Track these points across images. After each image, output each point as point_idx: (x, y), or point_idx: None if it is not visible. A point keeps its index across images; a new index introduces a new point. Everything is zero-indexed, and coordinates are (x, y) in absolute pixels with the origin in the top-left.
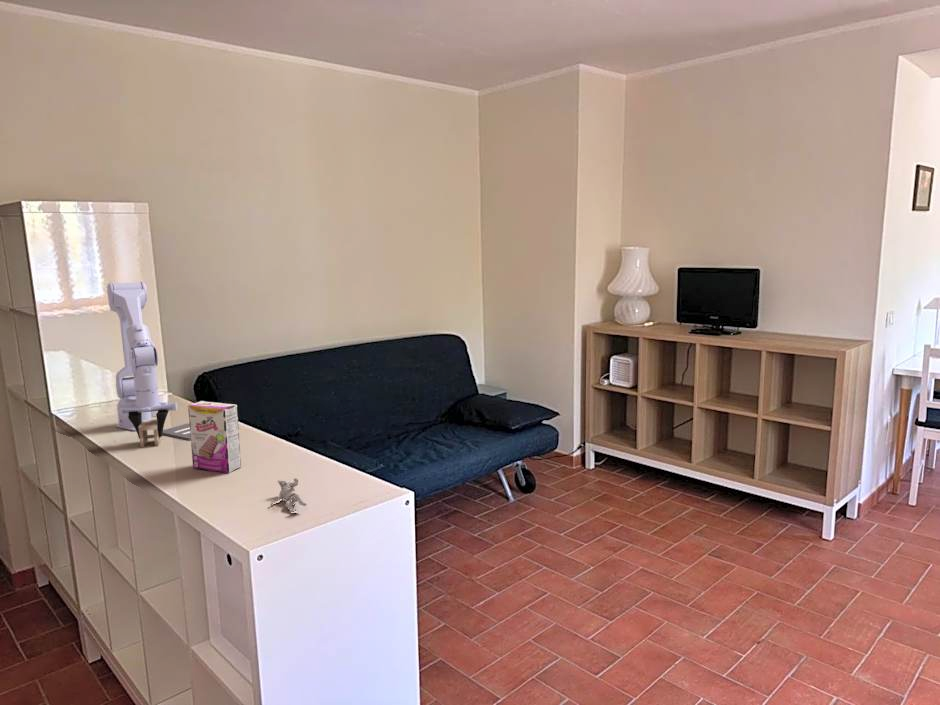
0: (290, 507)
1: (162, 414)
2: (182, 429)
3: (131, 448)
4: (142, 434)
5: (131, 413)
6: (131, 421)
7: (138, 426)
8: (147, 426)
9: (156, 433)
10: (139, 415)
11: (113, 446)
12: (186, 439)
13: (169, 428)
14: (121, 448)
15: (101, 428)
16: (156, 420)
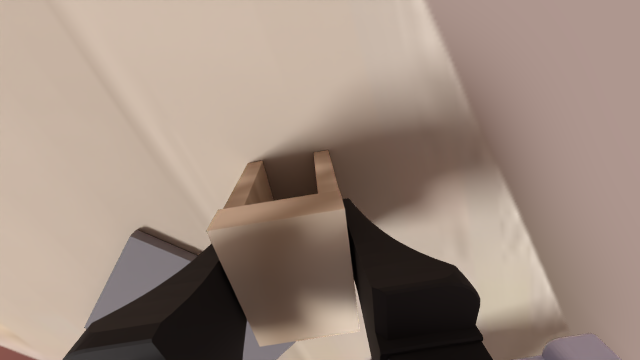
0: None
1: (84, 340)
2: None
3: (369, 140)
4: (317, 183)
5: (458, 354)
6: (419, 253)
7: (344, 209)
8: (274, 217)
9: (232, 196)
10: (374, 344)
11: (459, 180)
12: (158, 240)
13: (294, 341)
14: (417, 146)
15: (516, 352)
16: (271, 327)
